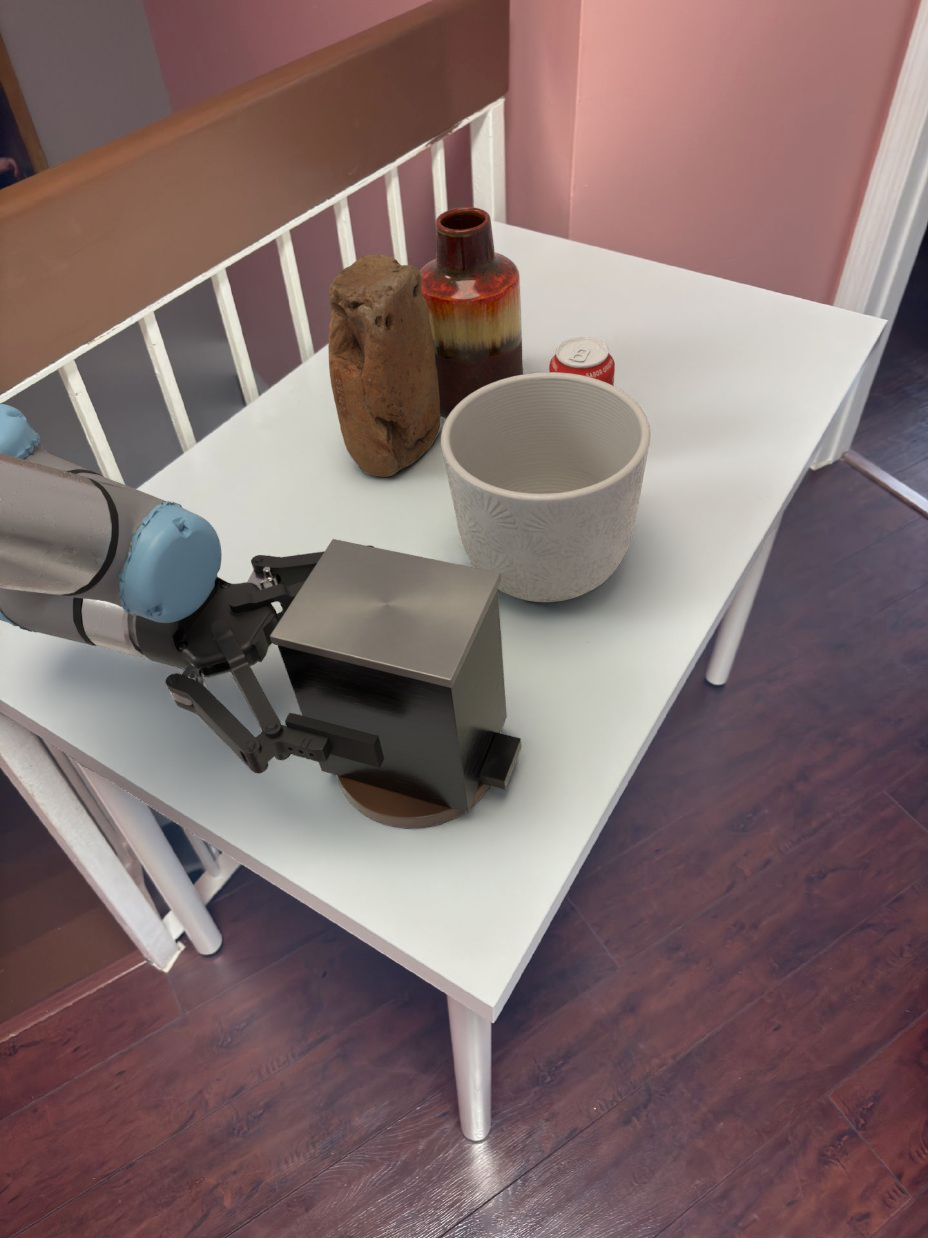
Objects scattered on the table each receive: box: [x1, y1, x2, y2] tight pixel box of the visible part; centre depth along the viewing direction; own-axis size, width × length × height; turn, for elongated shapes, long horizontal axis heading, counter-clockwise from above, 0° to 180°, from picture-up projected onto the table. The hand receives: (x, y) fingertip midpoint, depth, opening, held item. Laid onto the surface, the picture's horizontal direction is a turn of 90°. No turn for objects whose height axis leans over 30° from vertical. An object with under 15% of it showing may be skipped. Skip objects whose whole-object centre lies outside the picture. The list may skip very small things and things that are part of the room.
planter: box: [440, 371, 651, 603], centre depth 80 cm, size 17×17×15 cm
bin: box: [270, 538, 522, 814], centre depth 65 cm, size 9×14×16 cm, turn 70°
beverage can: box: [548, 336, 616, 387], centre depth 91 cm, size 6×6×12 cm
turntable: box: [336, 775, 491, 829], centre depth 71 cm, size 13×13×2 cm
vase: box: [419, 206, 524, 419], centre depth 97 cm, size 11×11×20 cm
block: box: [327, 253, 441, 478], centre depth 91 cm, size 11×8×20 cm
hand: (418, 674), depth 64 cm, fingers open, 13 cm apart
